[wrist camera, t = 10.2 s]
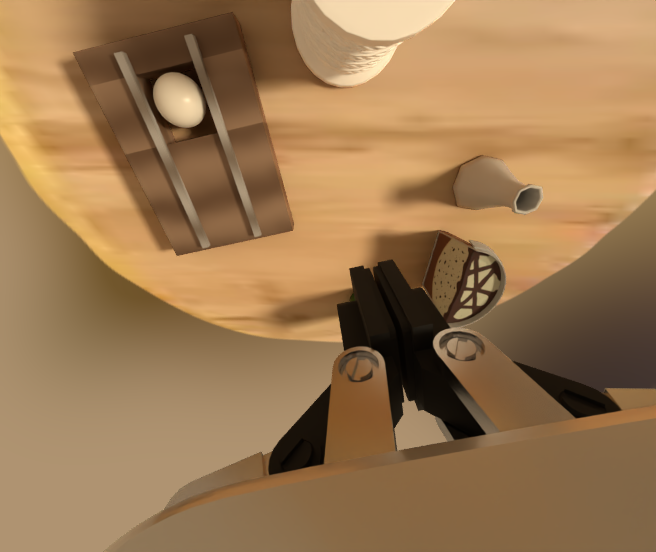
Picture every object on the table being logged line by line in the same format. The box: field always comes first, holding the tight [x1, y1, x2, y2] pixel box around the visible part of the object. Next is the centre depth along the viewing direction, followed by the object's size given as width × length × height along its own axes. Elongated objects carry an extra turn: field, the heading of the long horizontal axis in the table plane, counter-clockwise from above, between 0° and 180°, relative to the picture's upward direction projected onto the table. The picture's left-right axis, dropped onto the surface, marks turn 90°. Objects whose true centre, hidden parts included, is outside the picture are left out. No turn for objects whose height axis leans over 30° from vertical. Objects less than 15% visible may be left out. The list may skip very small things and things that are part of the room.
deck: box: [73, 12, 294, 256], centre depth 33 cm, size 22×16×4 cm
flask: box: [453, 155, 543, 215], centre depth 34 cm, size 7×7×10 cm
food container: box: [422, 230, 506, 328], centre depth 39 cm, size 12×6×10 cm, turn 174°
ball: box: [153, 72, 206, 128], centre depth 30 cm, size 5×5×5 cm
